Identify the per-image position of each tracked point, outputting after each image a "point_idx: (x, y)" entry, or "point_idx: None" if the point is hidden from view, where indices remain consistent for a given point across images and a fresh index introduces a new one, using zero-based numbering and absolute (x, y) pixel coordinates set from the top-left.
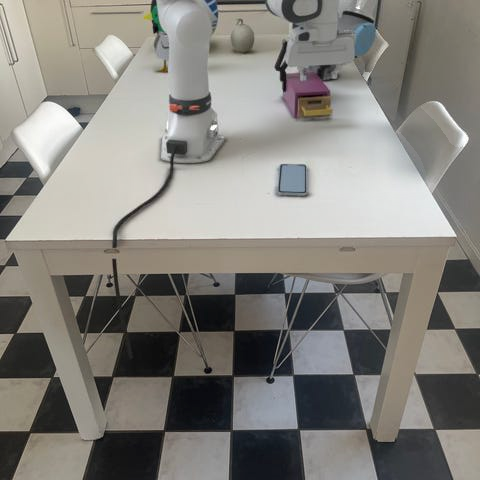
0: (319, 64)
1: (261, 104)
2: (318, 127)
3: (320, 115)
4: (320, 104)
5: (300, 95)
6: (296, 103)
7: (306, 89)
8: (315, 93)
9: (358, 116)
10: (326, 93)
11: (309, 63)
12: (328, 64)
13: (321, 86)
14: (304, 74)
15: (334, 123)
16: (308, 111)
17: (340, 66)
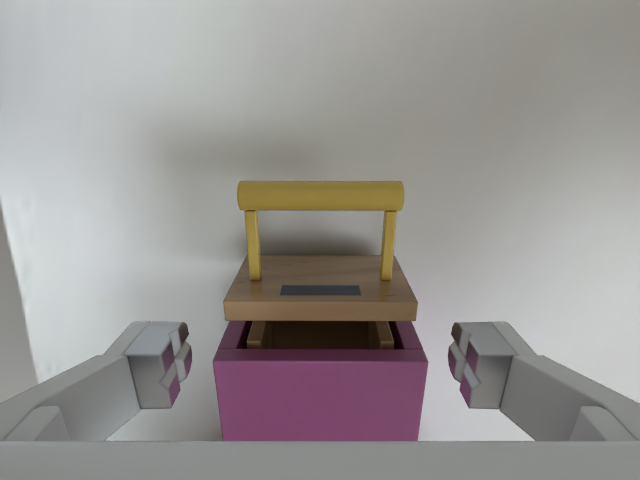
0: (352, 447)
1: (480, 424)
2: (319, 163)
3: (288, 257)
4: (286, 283)
5: (392, 350)
6: (403, 323)
7: (346, 400)
8: (303, 354)
9: (112, 254)
10: (238, 350)
11: (572, 476)
12: (179, 442)
13: (250, 425)
14: (491, 381)
15: (234, 196)
16: (383, 190)
17: (3, 417)
